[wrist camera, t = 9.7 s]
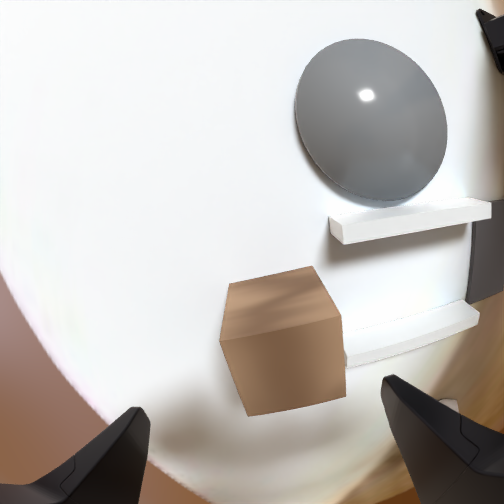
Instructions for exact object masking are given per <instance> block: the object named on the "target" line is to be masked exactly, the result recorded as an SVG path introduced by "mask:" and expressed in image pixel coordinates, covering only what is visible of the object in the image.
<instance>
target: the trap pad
mask: <svg viewBox="0 0 504 504" xmlns="http://www.w3.org/2000/svg"><path fill="white" fill-rule="evenodd" d="M489 202H490V203H491V218H489V219H484V220H479V221H473V234H472V252H471V263H470V273H469V281H468V289H467V295H466V303H468V304H469V305H470V304H472V303H475V302H477V301H480V300H482V299H485V298H487V297H490V296H492V295H494V294H497V293H499V292H501V291H503V289H504V200H497V201H489Z"/></svg>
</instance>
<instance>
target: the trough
mask: <svg viewBox="0 0 504 504" xmlns="http://www.w3.org/2000/svg"><path fill="white" fill-rule="evenodd" d="M489 218H491V203H490V202H486V201H482V200H478V199H474V198H470V197H466V198H458V199H449V200H441V201H433V202H425V203H418V204H410V205H403V206H395V207H388V208H381V209H374V210H367V211H360V212H353V213H346V214H340V215H333V216H329V224H330V233H331V234H332V235H333V236H334V237H335V238H337V239H338V240H339V241H340V242H341V243H342V244H344V245H345V244H351V243H357V242H363V241H368V240H374V239H380V238H385V237H391V236H396V235H402V234H408V233H413V232H419V231H424V230H430V229H435V228H441V227H446V226H452V225H457V224H463V223H468V222H473V221H479V220H484V219H489ZM479 315H480V313H479V312H478V311H477V310H475V309H474V308H473V307H472V306H470V305H469V304H468V303H466V302H465V301H464V300H463V299H461V300H458V301H455V302H452V303H449V304H447V305H444V306H441V307H438V308H434V309H431V310H428V311H425V312H422V313H418V314H415V315H412V316H408V317H405V318H401V319H398V320H394V321H391V322H387V323H383V324H379V325H375V326H371V327H367V328H363V329H359V330H355V331H351V332H346V333H343V345H344V360H345V365H346V367H347V368H351V367H355V366H359V365H363V364H367V363H370V362H374V361H378V360H381V359H385V358H388V357H391V356H395V355H398V354H401V353H404V352H407V351H410V350H413V349H416V348H419V347H422V346H425V345H428V344H430V343H433V342H436V341H439V340H441V339H444V338H446V337H449V336H451V335H454V334H456V333H459V332H461V331H464V330H466V329H468V328H471V327H473V326H475V325H477V324H478V320H479Z"/></svg>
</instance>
